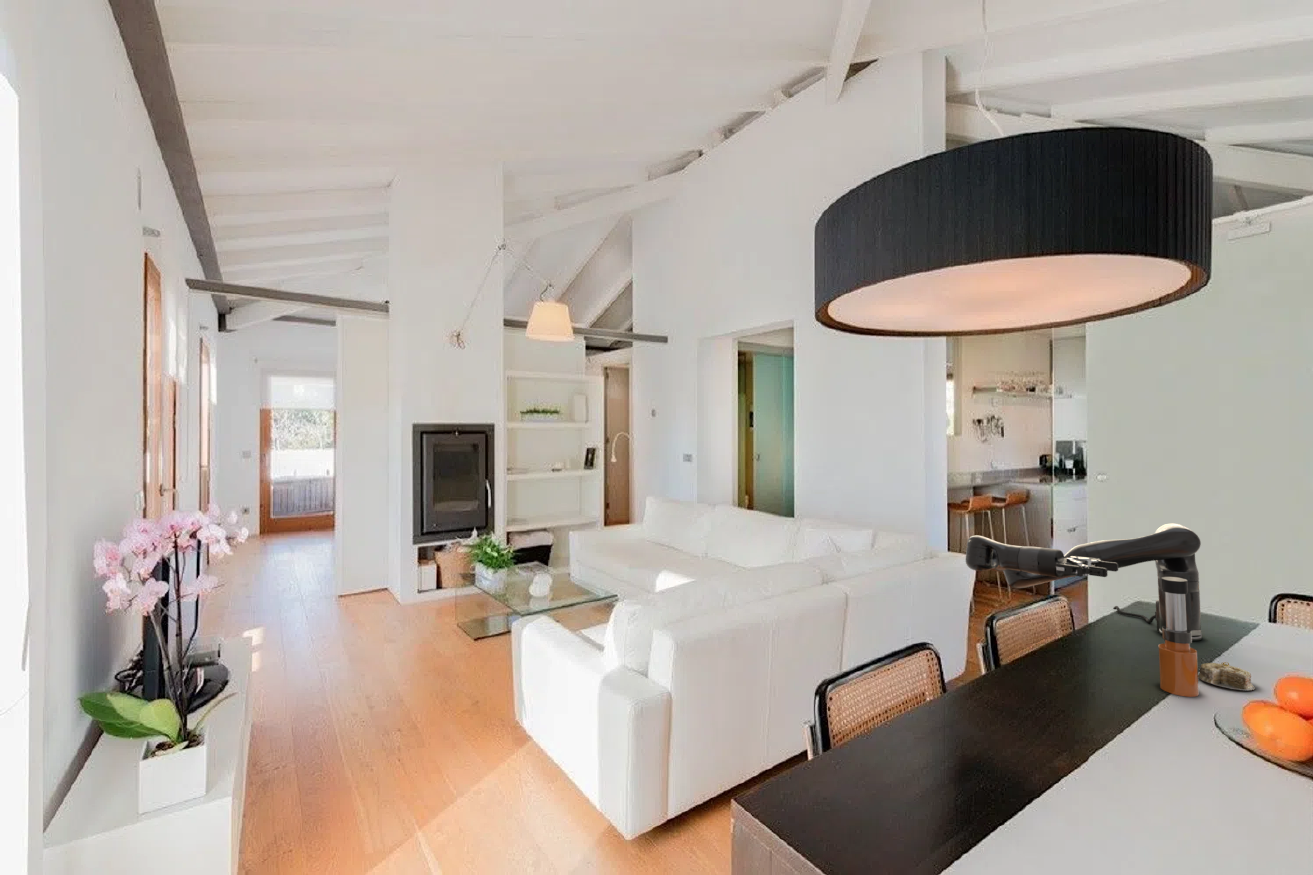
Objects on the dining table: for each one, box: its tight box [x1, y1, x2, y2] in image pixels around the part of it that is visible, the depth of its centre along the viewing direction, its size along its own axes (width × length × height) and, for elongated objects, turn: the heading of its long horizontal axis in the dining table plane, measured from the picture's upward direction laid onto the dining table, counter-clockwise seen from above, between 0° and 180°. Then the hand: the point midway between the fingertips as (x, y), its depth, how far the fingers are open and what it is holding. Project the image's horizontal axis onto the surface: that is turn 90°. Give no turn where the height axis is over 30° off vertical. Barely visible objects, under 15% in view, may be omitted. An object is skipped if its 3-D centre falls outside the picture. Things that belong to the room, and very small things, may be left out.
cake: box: [1198, 661, 1256, 691], centre depth 140 cm, size 10×10×5 cm
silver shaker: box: [1162, 577, 1188, 632], centre depth 137 cm, size 5×5×12 cm
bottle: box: [1157, 626, 1200, 698], centre depth 137 cm, size 7×7×14 cm
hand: (1112, 570), depth 147 cm, fingers open, 8 cm apart
